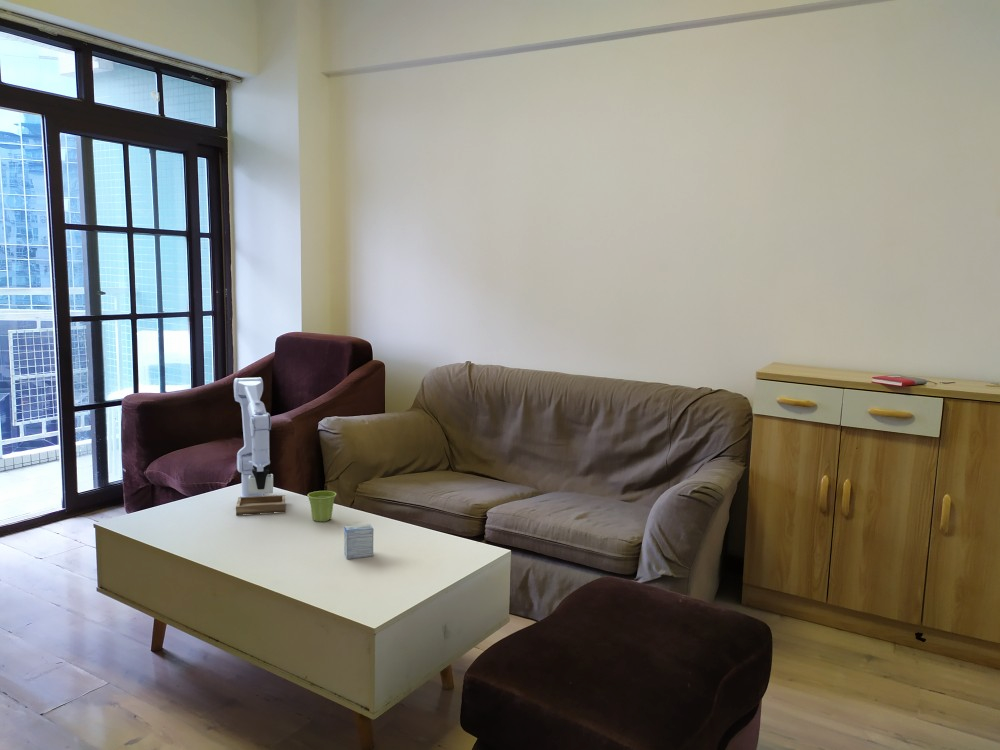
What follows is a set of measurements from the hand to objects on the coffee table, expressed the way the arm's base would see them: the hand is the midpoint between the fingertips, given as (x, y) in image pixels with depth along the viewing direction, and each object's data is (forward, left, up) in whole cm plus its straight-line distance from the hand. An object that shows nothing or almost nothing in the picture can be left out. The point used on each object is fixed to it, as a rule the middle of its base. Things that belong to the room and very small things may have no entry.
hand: (261, 487), depth 257 cm
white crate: (0, 0, -2) cm, 2 cm away
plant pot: (+16, +20, -8) cm, 27 cm away
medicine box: (+53, +29, -8) cm, 61 cm away
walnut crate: (0, 0, -8) cm, 8 cm away
